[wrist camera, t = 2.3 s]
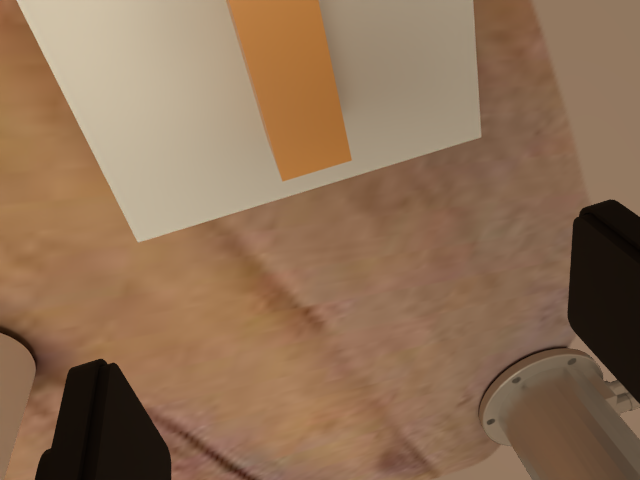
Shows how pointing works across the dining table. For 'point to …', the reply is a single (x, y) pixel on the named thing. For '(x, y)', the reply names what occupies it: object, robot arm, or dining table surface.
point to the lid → (256, 94)
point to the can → (13, 393)
